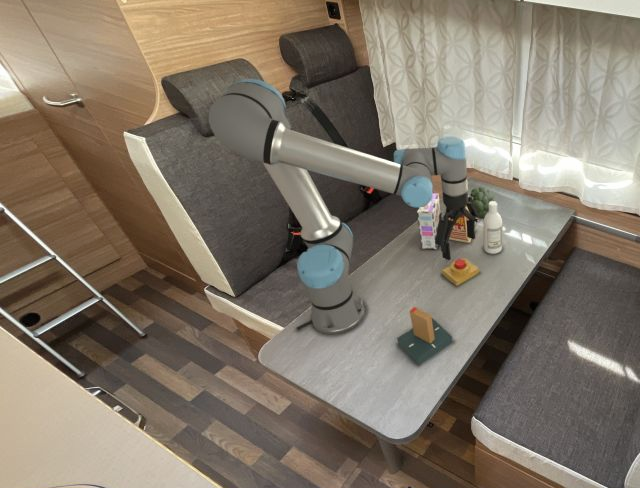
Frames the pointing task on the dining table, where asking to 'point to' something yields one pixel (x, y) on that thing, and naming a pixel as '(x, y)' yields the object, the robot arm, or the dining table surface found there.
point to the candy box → (429, 222)
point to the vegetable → (482, 200)
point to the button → (460, 264)
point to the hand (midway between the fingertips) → (459, 247)
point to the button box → (460, 272)
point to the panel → (424, 343)
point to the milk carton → (460, 230)
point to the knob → (422, 325)
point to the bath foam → (492, 230)
